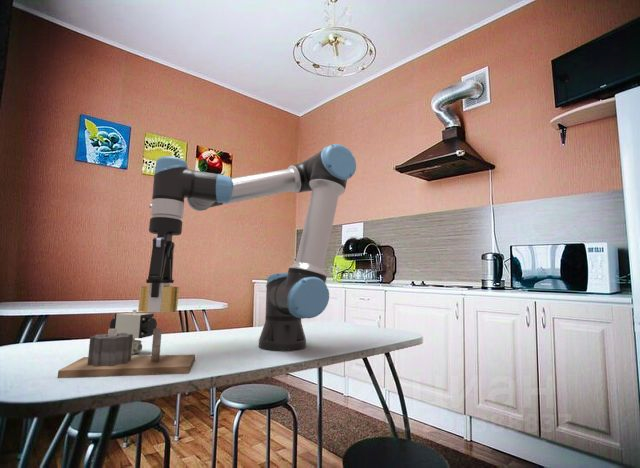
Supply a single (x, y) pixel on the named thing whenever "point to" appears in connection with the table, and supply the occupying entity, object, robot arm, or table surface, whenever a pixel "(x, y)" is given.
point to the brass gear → (168, 299)
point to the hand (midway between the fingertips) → (158, 310)
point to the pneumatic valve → (134, 326)
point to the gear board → (125, 358)
